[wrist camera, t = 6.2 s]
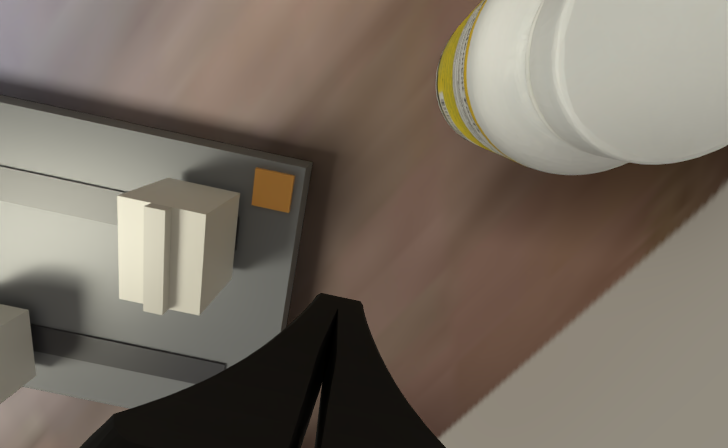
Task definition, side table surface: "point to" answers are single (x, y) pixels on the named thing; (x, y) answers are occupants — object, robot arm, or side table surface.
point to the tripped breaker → (175, 244)
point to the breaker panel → (100, 252)
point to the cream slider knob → (15, 350)
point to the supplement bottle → (589, 81)
